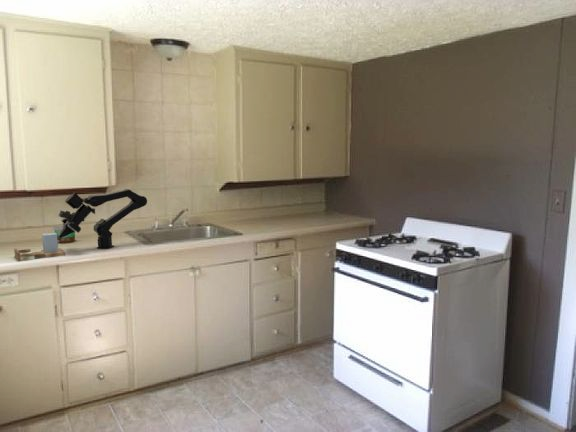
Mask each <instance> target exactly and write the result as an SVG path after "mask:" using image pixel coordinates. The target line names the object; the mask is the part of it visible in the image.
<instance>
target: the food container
mask: <svg viewBox="0 0 576 432" xmlns="http://www.w3.org/2000/svg"><path fill="white" fill-rule="evenodd" d="M52 229H53V230H54V233H56V234H57V241H58V244H70V243H75V240H76V231H75V230H74V231H75V232H73V233H71V234H69V235H67V236H64V237H62V238H59V235H60V233H61V231H62V229H63V225H62V226H60V225H59V226H57V225H53V228H52Z"/></svg>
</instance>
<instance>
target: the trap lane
mask: <svg viewBox="0 0 576 432" xmlns="http://www.w3.org/2000/svg"><path fill="white" fill-rule="evenodd" d="M61 256H66V251H65V250H63V249H62V248H61V247H58V252H51V253H45V252H44V251H43V249H41V250H40V251H36V252H35V251H34V252H32V251H31V248H25V249H17V248H14V258H15V259H16V260H17V261H18V262H22V261H30V260H37V259H45V258H53V257H61Z"/></svg>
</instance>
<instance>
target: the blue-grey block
mask: <svg viewBox="0 0 576 432" xmlns="http://www.w3.org/2000/svg"><path fill="white" fill-rule="evenodd" d="M41 236H42V237H41V238H42V248H43V249H42V250H43V251H44V252H45V253H51V252H58V248H59V243H58V241H57V234H56V233H55V232H52V233H51V232H50V233H49V232H48V233H41Z"/></svg>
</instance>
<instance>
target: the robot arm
mask: <svg viewBox="0 0 576 432" xmlns="http://www.w3.org/2000/svg"><path fill="white" fill-rule="evenodd" d="M126 197H127V198H128V199H129V200H130V202H129V203H128V204H127V205H126V206H124V207H122V208H121V209H120V210H119V211H117V212H116V213H114V214H113V215H111V216H110V217H108V218H107V219H104V218H100V220H98V221H95V224H94V225H93V231H94V233H95V234H97V246H96V248H97V249H106V250H108V249H111V248H113V247H114V245H113V240H112V237H113V232H112V231H110V230H111V229H112V227H113V226H114V225H116V224H117V223H118V222H119V221H121V220H122V219H124V218H125V217H127V215H130V213H132V212H133V211H136V210H139V209H141V208H143V207H145V206H147V204H148V199H147V197H146V196H143V195H141V194H140V195H139V194H137V193H136V192H134V191H133V190H132V189H128V188H125V189H123V190H118V191H114V192H110V193H106V194H105V193H104V194H90V195H88V197H84V198H81V196H79V195H78V193H76V192H73V193H72V194H71V195H69V196H67V198H66V199H65V201H64V202H65V203H66V204H67V205H68V206H69V207H70V208H72V209H73V210H74V209H77V210H76V211H74V212H72V213H71V211H69V210H66V211H64V210H60V211H59V213H58V217H59V218H62V219H61V220H60V221H61V222H62V226H63V229H62V231H61V233H60V235H59V238H62V237H64V236H67V235H69V234H71V233H73V232H75V233H76V232H77V233H78V234H79V233H80V232H81V231H82V228H81V226H80V225H81V224H82V222H85V219H86V218H87V217H88V216H89V214H91V213H92V214H94V215H96V208H95V207H99V206H101V205H104V204H105V203H107V202H110V201H111V202H112V201H116V200H120V199H124V198H126ZM93 207H94V208H93ZM74 230H75V231H74Z"/></svg>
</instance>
